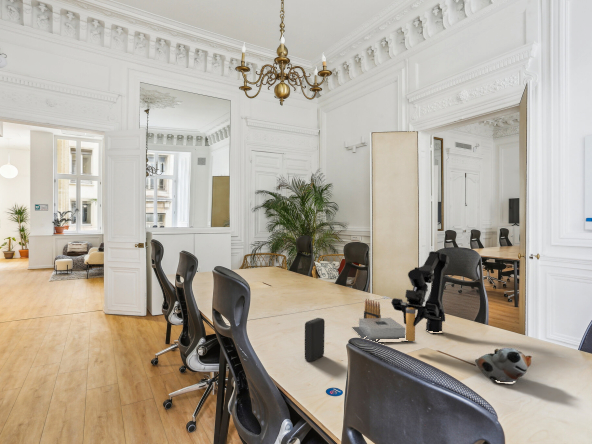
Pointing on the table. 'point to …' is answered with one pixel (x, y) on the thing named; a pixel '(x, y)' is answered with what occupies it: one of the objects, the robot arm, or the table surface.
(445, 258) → the robot arm
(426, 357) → the table surface
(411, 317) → the pin
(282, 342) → the table surface
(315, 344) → the card reader
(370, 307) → the ammunition clip
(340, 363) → the table surface
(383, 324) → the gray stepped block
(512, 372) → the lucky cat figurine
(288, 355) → the table surface
